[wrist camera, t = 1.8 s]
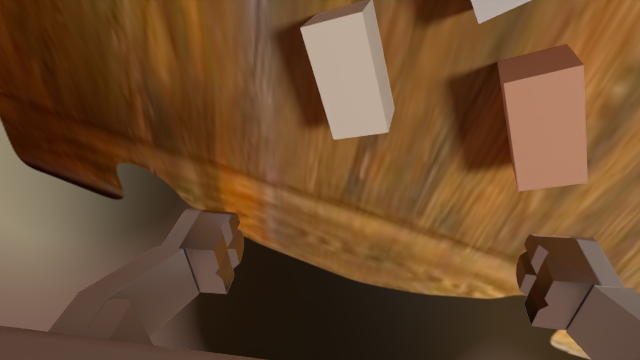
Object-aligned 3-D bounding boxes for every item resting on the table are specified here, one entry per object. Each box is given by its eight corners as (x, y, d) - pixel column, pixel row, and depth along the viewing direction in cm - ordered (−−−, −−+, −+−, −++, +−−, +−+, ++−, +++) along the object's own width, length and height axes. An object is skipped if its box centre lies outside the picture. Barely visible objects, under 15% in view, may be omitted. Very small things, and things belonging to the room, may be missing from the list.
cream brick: (372, -2, 32) (361, 11, 28) (394, 107, 37) (388, 132, 33) (317, 13, 34) (300, 27, 30) (345, 115, 39) (333, 139, 35)
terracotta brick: (566, 43, 30) (583, 64, 26) (572, 150, 35) (587, 182, 31) (497, 61, 32) (503, 83, 28) (511, 160, 37) (518, 191, 33)
